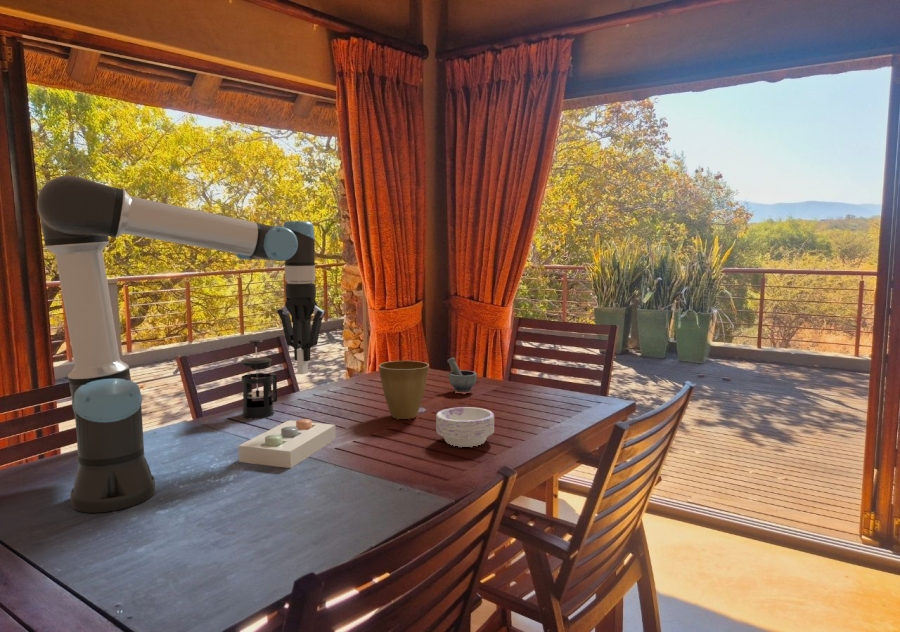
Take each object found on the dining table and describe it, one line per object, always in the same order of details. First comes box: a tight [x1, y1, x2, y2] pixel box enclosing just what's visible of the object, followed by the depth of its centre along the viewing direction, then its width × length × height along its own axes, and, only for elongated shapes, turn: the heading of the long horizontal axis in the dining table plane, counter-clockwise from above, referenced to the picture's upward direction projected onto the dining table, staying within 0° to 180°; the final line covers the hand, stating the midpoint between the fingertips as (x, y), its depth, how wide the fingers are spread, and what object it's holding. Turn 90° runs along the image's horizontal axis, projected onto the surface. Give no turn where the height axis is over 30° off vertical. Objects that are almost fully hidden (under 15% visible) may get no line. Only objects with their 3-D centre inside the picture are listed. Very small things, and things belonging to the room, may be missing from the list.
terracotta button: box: [295, 418, 313, 430], centre depth 158 cm, size 4×4×4 cm
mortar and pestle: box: [447, 357, 478, 392], centre depth 213 cm, size 11×9×12 cm
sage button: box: [265, 435, 282, 447], centre depth 145 cm, size 4×4×4 cm
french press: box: [240, 339, 278, 420], centre depth 183 cm, size 12×9×23 cm
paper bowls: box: [435, 406, 495, 448], centre depth 158 cm, size 15×15×8 cm
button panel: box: [238, 419, 337, 469], centre depth 152 cm, size 22×14×4 cm, turn 163°
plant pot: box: [378, 360, 430, 420], centre depth 181 cm, size 15×15×16 cm
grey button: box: [281, 426, 298, 438], centre depth 151 cm, size 4×4×4 cm
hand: (302, 373), depth 156 cm, fingers closed
